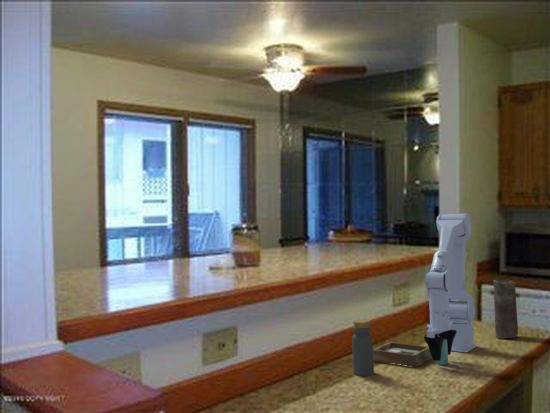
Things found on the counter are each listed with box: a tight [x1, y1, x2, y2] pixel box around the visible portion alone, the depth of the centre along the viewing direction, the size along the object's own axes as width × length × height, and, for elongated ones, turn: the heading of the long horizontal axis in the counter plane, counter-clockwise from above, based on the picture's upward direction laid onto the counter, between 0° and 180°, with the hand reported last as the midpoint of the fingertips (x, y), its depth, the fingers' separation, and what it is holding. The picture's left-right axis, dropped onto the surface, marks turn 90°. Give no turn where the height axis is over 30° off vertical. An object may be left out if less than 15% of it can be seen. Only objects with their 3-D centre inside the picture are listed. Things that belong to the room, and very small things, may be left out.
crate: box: [373, 341, 432, 368], centre depth 175 cm, size 12×14×4 cm
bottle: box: [351, 318, 375, 377], centre depth 163 cm, size 6×6×15 cm
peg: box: [435, 339, 449, 366], centre depth 169 cm, size 4×4×7 cm
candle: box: [492, 278, 519, 340], centre depth 197 cm, size 8×7×20 cm
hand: (441, 357), depth 169 cm, fingers open, 7 cm apart
